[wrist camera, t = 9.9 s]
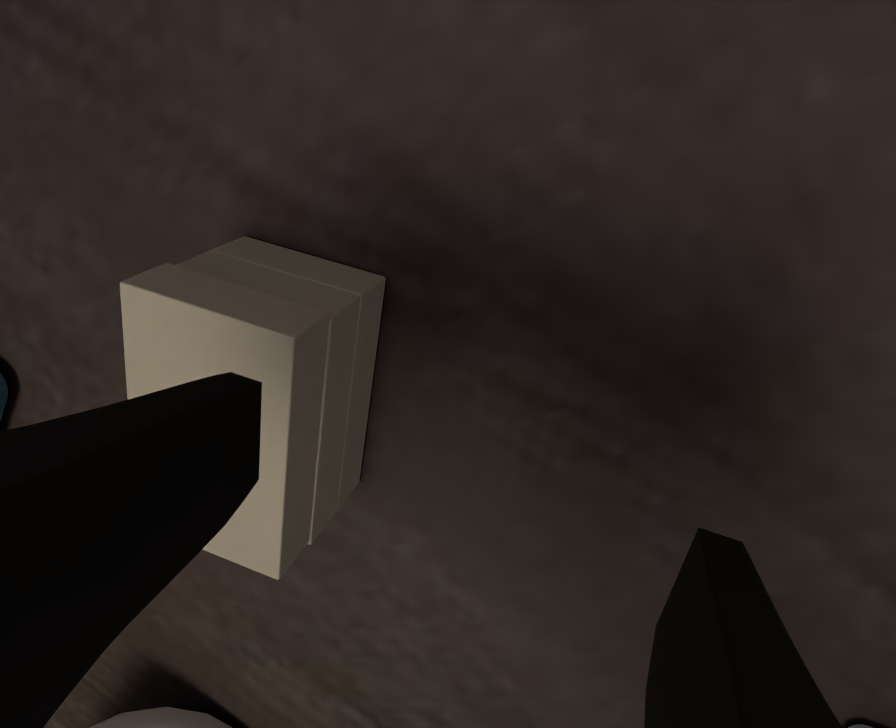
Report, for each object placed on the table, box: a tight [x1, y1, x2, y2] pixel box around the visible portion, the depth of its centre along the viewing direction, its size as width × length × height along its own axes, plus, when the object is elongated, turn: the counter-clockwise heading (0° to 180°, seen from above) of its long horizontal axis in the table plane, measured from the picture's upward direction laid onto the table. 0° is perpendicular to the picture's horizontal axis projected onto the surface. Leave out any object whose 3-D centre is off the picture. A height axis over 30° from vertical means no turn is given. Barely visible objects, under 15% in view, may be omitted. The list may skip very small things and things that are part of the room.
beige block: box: [176, 236, 386, 545], centre depth 22 cm, size 8×5×4 cm, turn 170°
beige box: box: [120, 263, 329, 580], centre depth 19 cm, size 8×5×2 cm, turn 170°
